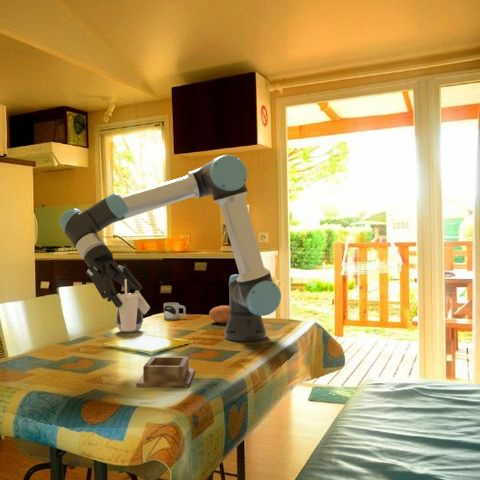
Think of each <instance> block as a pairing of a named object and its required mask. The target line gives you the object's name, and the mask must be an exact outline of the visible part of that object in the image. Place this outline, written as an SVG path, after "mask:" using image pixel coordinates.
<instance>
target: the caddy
mask: <svg viewBox="0 0 480 480" xmlns="http://www.w3.org/2000/svg"><path fill="white" fill-rule="evenodd" d="M189 359H190V358H189V356H156V355H155V356H153V355H152V356H151V357H150V358H149V359H148V360H147V362H146V363H145V364H144V365H143V373H142V375H141V376H140V378H139V379H138V380H137V382H136V383H135V387H137V388H142V387H143V388H146V387H147V388H148V387H149V388H151V387H152V388H160V387H161V388H167V387H168V388H172V387H171V386H189V387H190V385H189V384H191V382H192V380H193V377H194V374H195V372H196V369H195V368H190V367H189V362H190V361H189Z"/></svg>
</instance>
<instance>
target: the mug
mask: <svg viewBox="0 0 480 480" xmlns="http://www.w3.org/2000/svg"><path fill="white" fill-rule="evenodd" d="M179 309H183V313H182V314H180V310H179ZM186 310H187V309H186V306H184V305H181V304H180V303H179V302H164V303H163V320H166V321H167V320H168V321H170V320H172V321H173V320H179V319H180V318H184V317H185V316H186V312H187V311H186Z"/></svg>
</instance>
